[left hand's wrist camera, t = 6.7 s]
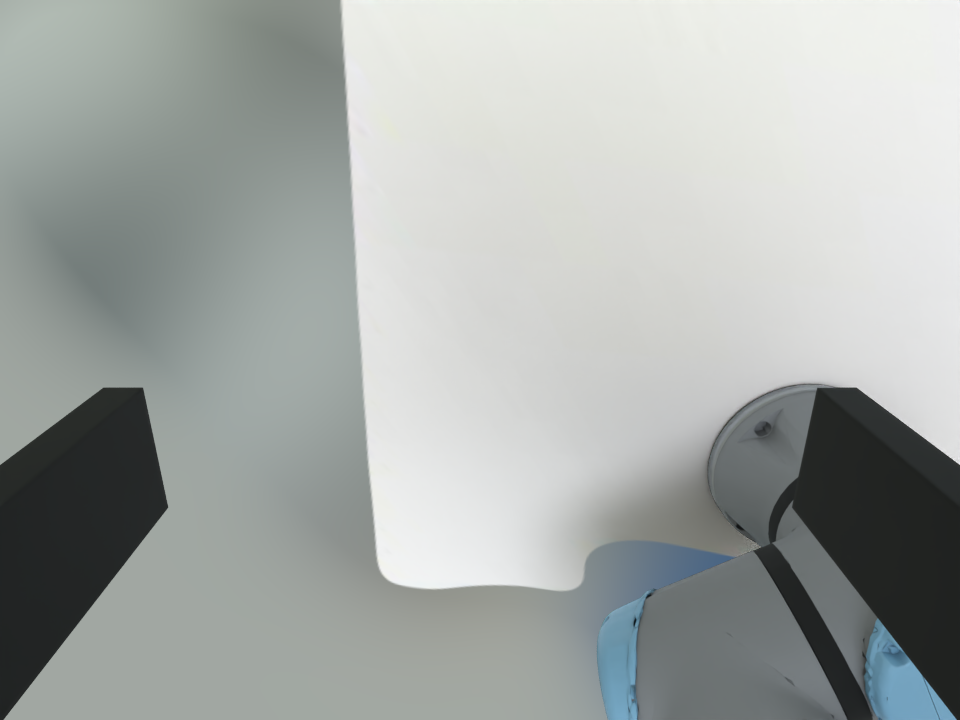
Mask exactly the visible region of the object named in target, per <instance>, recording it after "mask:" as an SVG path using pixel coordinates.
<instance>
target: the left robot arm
mask: <svg viewBox="0 0 960 720" xmlns="http://www.w3.org/2000/svg"><path fill="white" fill-rule="evenodd" d="M708 481H709V487H710V491H711V493H712V496H713V498H714V500H715V502H716V504H717V505H718V507H719V509H720V511H721V512H722V514H723V515H724V516H725V518H726V519H727V520H728V521H729V522H730V523H731V524H732V525H733V526H734V527H735V528H736V529H737V530H738V531H739V532H740V533H742V534H743V535H744V536H746V537H747V538H749V539H751V540H752V541H754V542H756V543H757V544H758V545H759V546H761V548H759V549H757V550H754V551H751V552H748V553H746V554H743V555H741V556H738V557H736V558H734V559H731V560H729V561H726V562H724V563H721V564H719V565H716V566H714V567H712V568H709V569H707V570H704V571H702V572H699V573H697V574H695V575H692V576H690V577H687V578H685V579H682V580H680V581H677V582H675V583H673V584H670V585H668V586H665V587H663V588H660V589H658V590H656V589H652V590H649V591H647V592H645V593H644V594H643V595H642V597H641V598H639V599H637V600H635V601H633V602H630V603H628V604H626V605H624V606H622V607H620V608H618V609H615V610H614V611H612V612H611V613H610V614H609V615H608V616H607V617H606V618H605V620H604V622H603V624H602V626H601V629H600V631H599V635H598V641H597V662H598V673H599V679H600V686H601V691H602V696H603V701H604V705H605V710H606V714H607V718H608V720H878V719H879V720H960V465H959V464H958V463H956V462H955V461H954V460H952V459H951V458H950V457H948V456H947V455H946V454H944V453H943V452H942V451H940V450H939V449H938V448H936V447H935V446H934V445H932V444H931V443H930V442H928V441H927V440H926V439H924V438H923V437H922V436H920V435H919V434H918V433H916V432H915V431H914V430H912V429H911V428H910V427H908V426H907V425H906V424H904V423H903V422H902V421H900V420H899V419H898V418H896V417H895V416H894V415H892V414H891V413H890V412H888V411H887V410H886V409H884V408H883V407H882V406H880V405H879V404H878V403H876V402H875V401H873V400H872V399H871V398H869V397H868V396H867V395H865V394H864V393H863V392H861V391H860V390H859V389H857V388H835V387H831V386H825V385H814V384H809V385H797V386H791V387H786V388H783V389H779V390H776V391H773V392H771V393H768V394H766V395H764V396H762V397H760V398H758V399H756V400H755V401H753V402H751V403H750V404H748V405H747V406H746V407H744V408H743V409H742V410H741V411H739V412H738V413H737V414H736V415H735V416H734V417H733V418H732V419H731V420H730V421H729V422H728V424H727V425H726V426H725V427H724V429H723V430H722V431H721V433H720V435H719V436H718V438H717V440H716V442H715V444H714V446H713V449H712V452H711V455H710V459H709V465H708ZM167 508H168V504H167V500H166V495H165V490H164V485H163V481H162V476H161V471H160V466H159V462H158V457H157V452H156V447H155V443H154V438H153V433H152V429H151V424H150V419H149V414H148V409H147V405H146V400H145V396H144V390H143V388H103V389H101V390H100V391H99V392H97V393H96V394H95V395H93V396H92V397H91V398H89V399H88V400H86V401H85V402H84V403H82V404H81V405H80V406H79V407H77V408H76V409H74V410H73V411H72V412H71V413H69V414H68V415H66V416H65V417H64V418H63V419H61V420H60V421H59V422H57V423H56V424H55V425H53V426H52V427H50V428H49V429H48V430H46V431H45V432H44V433H42V434H41V435H40V436H38V437H37V438H36V439H35V440H33V441H32V442H30V443H29V444H28V445H27V446H25V447H24V448H22V449H21V450H20V451H19V452H17V453H16V454H15V455H13V456H12V457H10V458H9V459H8V460H6V461H5V462H4V463H2V464H1V465H0V720H4V718H5V717H6V716H7V714H8V713H9V712H10V711H11V709H12V708H13V707H14V705H15V704H16V703H17V702H18V700H19V699H20V698H21V696H22V695H23V694H24V692H25V691H26V690H27V689H28V687H29V686H30V685H31V684H32V682H33V681H34V680H35V678H36V677H37V676H38V674H39V673H40V672H41V671H42V669H43V668H44V667H45V665H46V664H47V663H48V662H49V660H50V659H51V658H52V656H53V655H54V654H55V653H56V651H57V650H58V649H59V647H60V646H61V645H62V644H63V642H64V641H65V640H66V638H67V637H68V636H69V634H70V633H71V632H72V631H73V629H74V628H75V627H76V626H77V624H78V623H79V622H80V620H81V619H82V618H83V617H84V615H85V614H86V613H87V611H88V610H89V609H90V607H91V606H92V605H93V604H94V602H95V601H96V600H97V598H98V597H99V596H100V595H101V593H102V592H103V591H104V589H105V588H106V587H107V586H108V584H109V583H110V582H111V580H112V579H113V578H114V577H115V575H116V574H117V573H118V571H119V570H120V569H121V568H122V566H123V565H124V564H125V562H126V561H127V560H128V558H129V557H130V556H131V555H132V553H133V552H134V551H135V549H136V548H137V547H138V546H139V544H140V543H141V542H142V540H143V539H144V538H145V537H146V535H147V534H148V533H149V531H150V530H151V529H152V528H153V526H154V525H155V524H156V522H157V521H158V520H159V519H160V517H161V516H162V515H163V513H164V512H165V511H166V510H167Z"/></svg>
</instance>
